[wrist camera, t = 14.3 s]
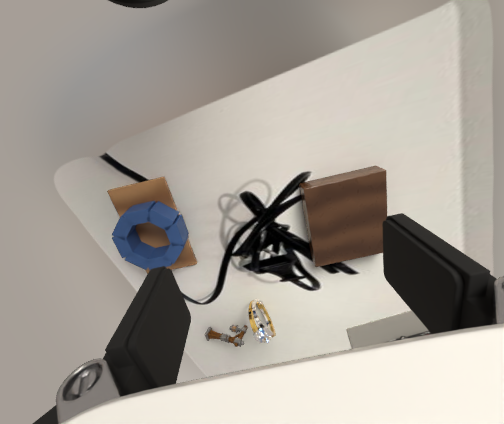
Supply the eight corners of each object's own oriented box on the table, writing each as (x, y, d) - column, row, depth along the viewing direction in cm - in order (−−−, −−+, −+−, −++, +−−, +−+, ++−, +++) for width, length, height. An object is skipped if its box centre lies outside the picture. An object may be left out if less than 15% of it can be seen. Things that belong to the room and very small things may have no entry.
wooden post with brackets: (252, 330, 49) (243, 350, 46) (217, 323, 53) (206, 341, 49) (250, 324, 49) (241, 344, 45) (215, 317, 52) (204, 335, 48)
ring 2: (244, 294, 47) (245, 329, 40) (259, 287, 46) (262, 321, 39) (261, 318, 49) (264, 355, 42) (275, 312, 49) (281, 348, 42)
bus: (471, 342, 54) (488, 360, 50) (358, 372, 57) (367, 391, 53) (470, 293, 49) (490, 309, 45) (346, 328, 51) (355, 346, 47)
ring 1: (113, 209, 39) (101, 219, 36) (174, 195, 38) (168, 203, 35) (138, 262, 43) (130, 274, 40) (194, 249, 42) (190, 261, 39)
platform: (299, 183, 39) (303, 189, 36) (375, 165, 38) (386, 170, 35) (311, 257, 44) (315, 267, 42) (378, 242, 44) (387, 251, 41)
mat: (108, 189, 38) (106, 190, 38) (164, 176, 38) (163, 177, 37) (148, 273, 44) (147, 275, 44) (197, 262, 44) (196, 264, 43)
